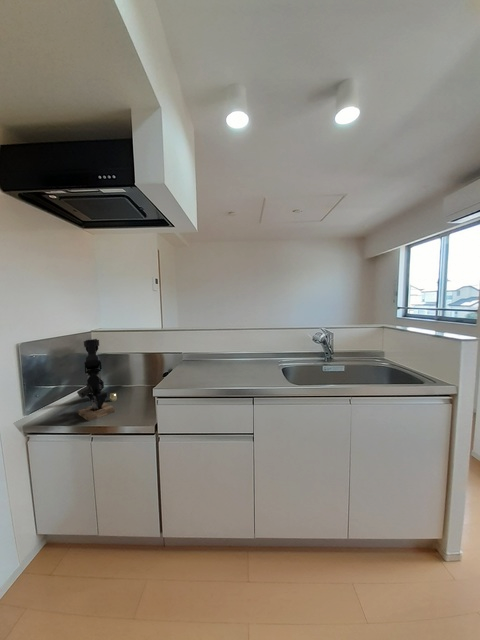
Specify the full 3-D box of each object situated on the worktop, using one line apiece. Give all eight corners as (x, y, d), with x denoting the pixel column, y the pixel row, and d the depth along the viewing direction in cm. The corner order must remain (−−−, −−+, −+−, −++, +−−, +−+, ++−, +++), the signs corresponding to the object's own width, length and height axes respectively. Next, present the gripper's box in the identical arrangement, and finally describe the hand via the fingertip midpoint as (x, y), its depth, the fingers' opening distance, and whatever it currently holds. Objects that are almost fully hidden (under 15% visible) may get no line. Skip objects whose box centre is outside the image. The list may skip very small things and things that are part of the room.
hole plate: (78, 414, 149) (78, 410, 148) (103, 405, 160) (103, 401, 159) (88, 421, 140) (88, 416, 140) (114, 411, 151) (114, 407, 151)
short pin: (108, 400, 168) (108, 394, 168) (114, 398, 171) (114, 392, 171) (111, 401, 166) (111, 395, 165) (117, 399, 169) (117, 393, 168)
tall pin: (98, 410, 153) (97, 397, 152) (101, 412, 150) (100, 399, 149) (91, 413, 150) (90, 399, 149) (94, 415, 147) (93, 401, 146)
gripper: (71, 381, 148) (74, 408, 149) (85, 388, 136) (87, 416, 137) (92, 376, 156) (94, 401, 158) (107, 382, 145) (109, 409, 146)
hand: (96, 407), depth 149 cm, fingers open, 9 cm apart
